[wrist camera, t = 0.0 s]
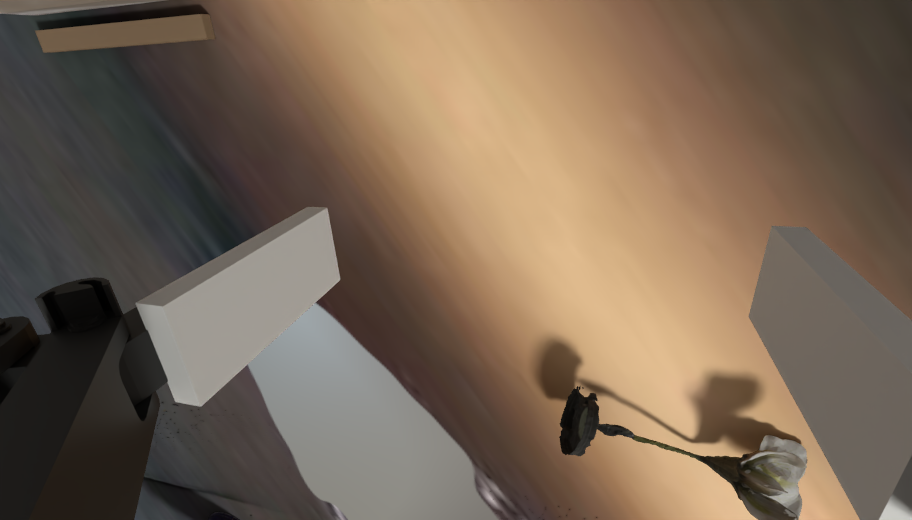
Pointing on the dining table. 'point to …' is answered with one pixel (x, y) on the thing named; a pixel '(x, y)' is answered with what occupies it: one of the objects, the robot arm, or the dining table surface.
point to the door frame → (127, 33)
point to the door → (59, 5)
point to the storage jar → (222, 516)
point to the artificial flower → (710, 461)
